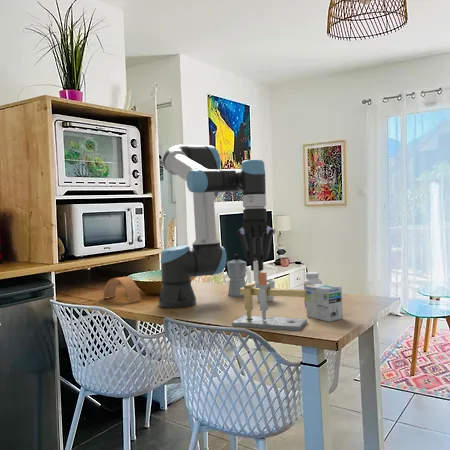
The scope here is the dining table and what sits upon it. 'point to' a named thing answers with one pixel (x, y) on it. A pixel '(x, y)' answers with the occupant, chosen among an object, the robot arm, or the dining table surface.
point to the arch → (128, 285)
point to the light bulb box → (324, 302)
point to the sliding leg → (263, 293)
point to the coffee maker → (236, 275)
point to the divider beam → (250, 291)
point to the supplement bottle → (311, 280)
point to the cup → (271, 288)
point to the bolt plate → (270, 322)
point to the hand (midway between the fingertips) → (257, 280)
